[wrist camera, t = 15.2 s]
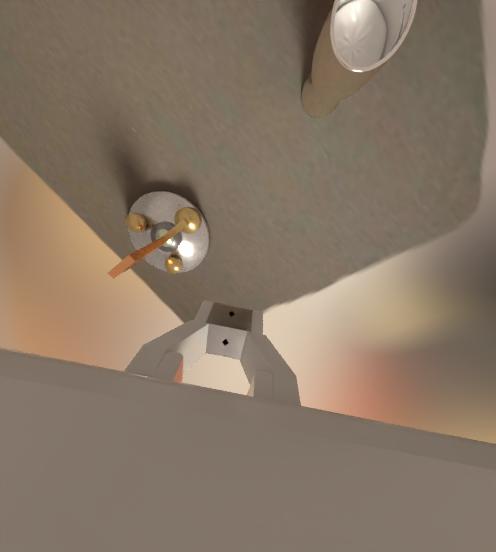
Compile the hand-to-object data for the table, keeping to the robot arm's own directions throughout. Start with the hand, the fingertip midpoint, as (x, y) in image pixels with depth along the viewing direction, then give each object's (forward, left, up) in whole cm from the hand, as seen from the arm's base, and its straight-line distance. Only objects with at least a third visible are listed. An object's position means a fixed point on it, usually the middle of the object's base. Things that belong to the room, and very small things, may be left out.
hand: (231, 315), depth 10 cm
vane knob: (-2, -17, -29) cm, 34 cm away
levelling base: (-2, -18, -31) cm, 36 cm away
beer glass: (-14, +15, -31) cm, 37 cm away
